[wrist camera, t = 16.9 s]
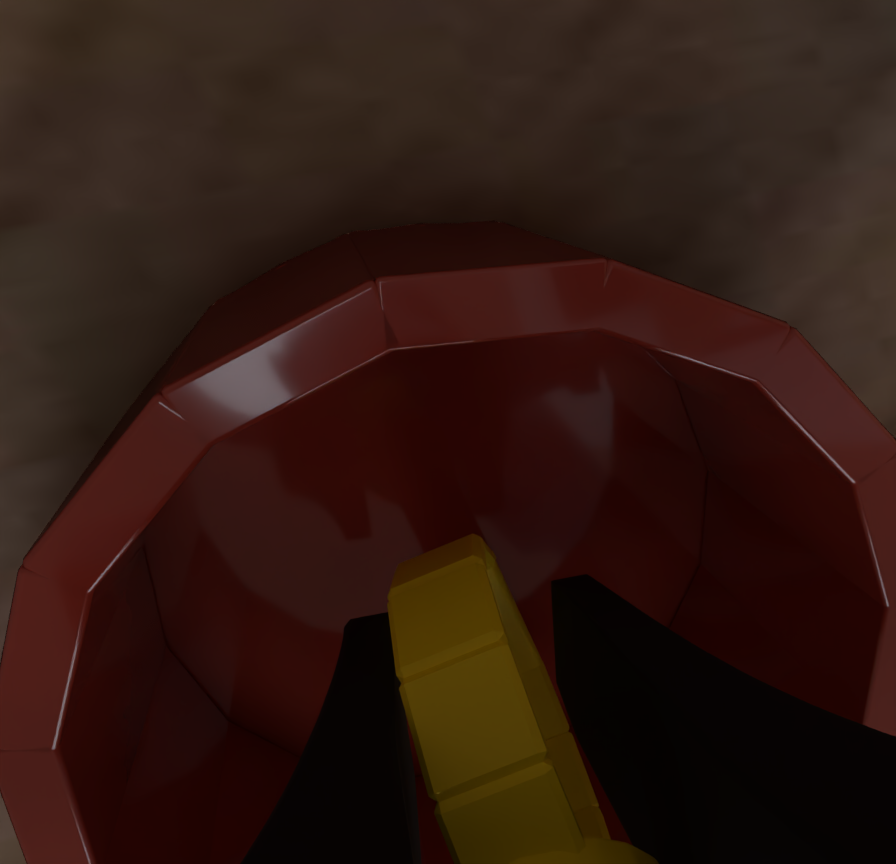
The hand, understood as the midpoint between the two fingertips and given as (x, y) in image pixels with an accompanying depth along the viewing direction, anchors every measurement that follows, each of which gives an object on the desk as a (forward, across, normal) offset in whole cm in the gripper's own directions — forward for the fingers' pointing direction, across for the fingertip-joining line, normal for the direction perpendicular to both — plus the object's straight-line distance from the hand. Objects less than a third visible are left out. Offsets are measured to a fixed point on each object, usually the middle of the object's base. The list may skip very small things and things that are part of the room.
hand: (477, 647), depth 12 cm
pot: (+3, 0, 0) cm, 3 cm away
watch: (+2, 0, +1) cm, 2 cm away
